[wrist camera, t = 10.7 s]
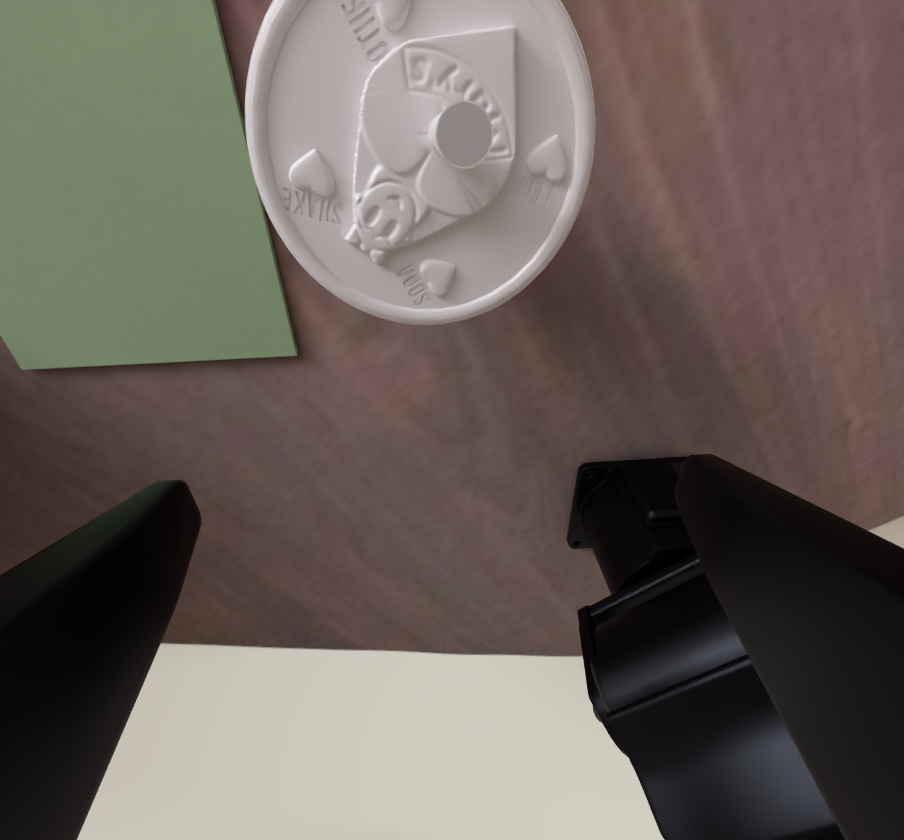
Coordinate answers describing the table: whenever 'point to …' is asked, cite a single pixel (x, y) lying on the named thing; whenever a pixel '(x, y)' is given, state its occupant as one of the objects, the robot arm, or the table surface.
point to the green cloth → (129, 191)
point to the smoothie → (420, 146)
